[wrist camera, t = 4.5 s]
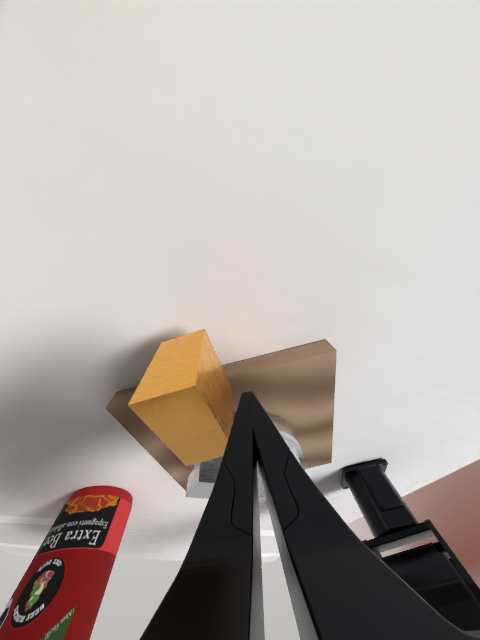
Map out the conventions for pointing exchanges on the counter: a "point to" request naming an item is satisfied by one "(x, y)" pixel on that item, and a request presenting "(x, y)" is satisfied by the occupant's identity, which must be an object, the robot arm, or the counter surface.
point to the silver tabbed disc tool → (195, 409)
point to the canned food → (69, 569)
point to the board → (263, 402)
